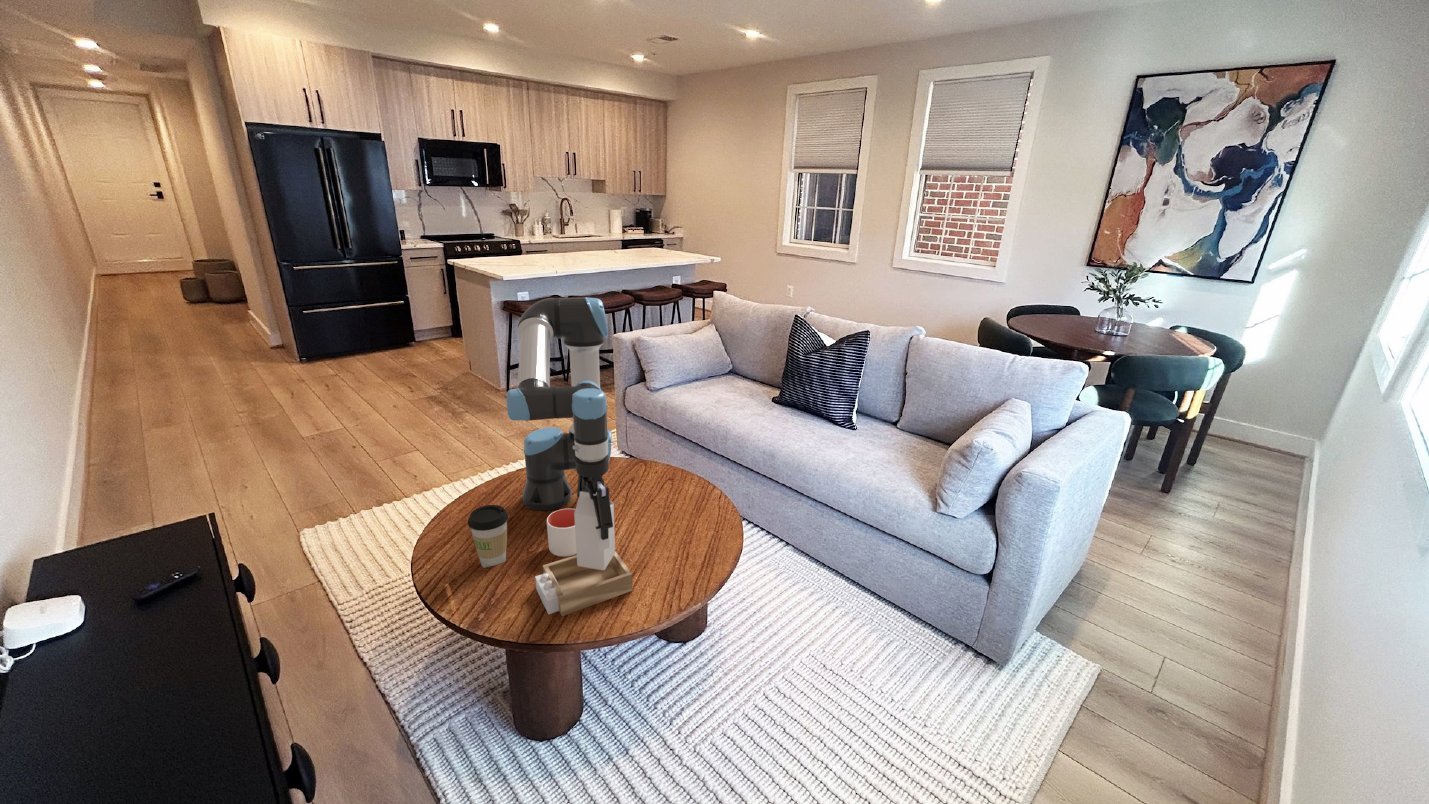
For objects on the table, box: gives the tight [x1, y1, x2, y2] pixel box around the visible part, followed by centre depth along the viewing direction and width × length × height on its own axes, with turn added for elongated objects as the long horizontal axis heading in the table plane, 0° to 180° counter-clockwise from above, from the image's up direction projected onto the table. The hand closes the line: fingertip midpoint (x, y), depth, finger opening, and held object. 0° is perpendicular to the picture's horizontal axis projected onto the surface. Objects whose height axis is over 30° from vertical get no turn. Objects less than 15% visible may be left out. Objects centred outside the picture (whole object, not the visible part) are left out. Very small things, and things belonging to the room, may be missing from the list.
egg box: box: [534, 571, 564, 616], centre depth 133 cm, size 10×4×5 cm, turn 32°
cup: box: [546, 508, 577, 558], centre depth 153 cm, size 10×10×10 cm
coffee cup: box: [467, 504, 509, 569], centre depth 146 cm, size 10×10×15 cm
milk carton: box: [574, 491, 616, 570], centre depth 134 cm, size 7×7×19 cm
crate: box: [542, 550, 634, 617], centre depth 138 cm, size 14×18×6 cm
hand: (595, 537), depth 135 cm, fingers closed on milk carton, 10 cm apart
